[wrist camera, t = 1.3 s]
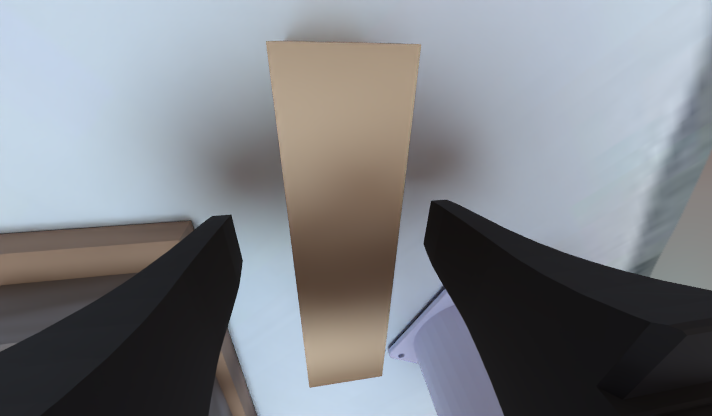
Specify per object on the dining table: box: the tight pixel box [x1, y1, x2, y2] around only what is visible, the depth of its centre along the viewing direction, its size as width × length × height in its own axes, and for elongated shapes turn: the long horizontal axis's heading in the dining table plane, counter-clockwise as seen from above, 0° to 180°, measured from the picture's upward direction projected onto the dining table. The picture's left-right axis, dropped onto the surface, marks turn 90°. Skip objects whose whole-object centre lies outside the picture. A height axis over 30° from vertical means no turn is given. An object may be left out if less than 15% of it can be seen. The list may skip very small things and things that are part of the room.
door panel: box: [266, 41, 421, 388], centre depth 11 cm, size 13×3×6 cm, turn 179°
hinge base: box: [0, 221, 257, 416], centre depth 16 cm, size 20×8×4 cm, turn 179°
